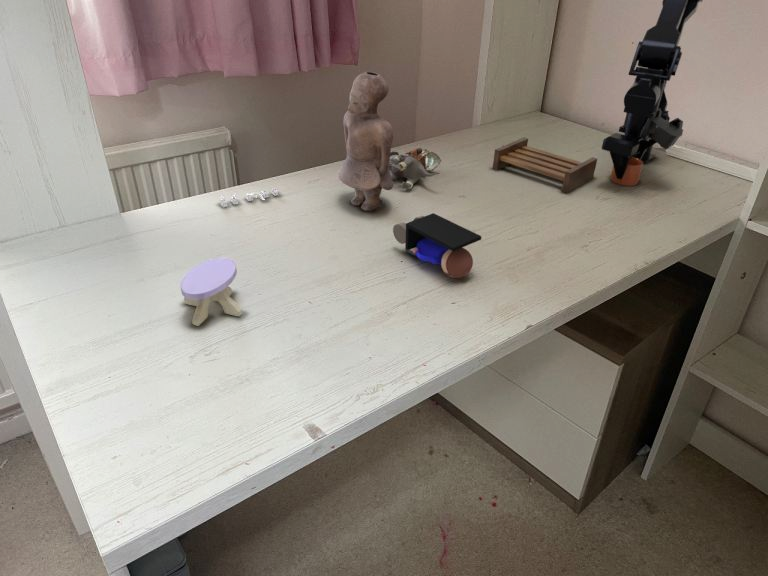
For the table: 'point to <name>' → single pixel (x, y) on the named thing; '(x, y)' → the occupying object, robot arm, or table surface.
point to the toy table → (210, 287)
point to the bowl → (629, 173)
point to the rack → (545, 163)
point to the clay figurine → (367, 142)
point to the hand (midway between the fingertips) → (625, 175)
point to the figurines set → (248, 197)
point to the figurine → (412, 165)
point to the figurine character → (438, 243)
